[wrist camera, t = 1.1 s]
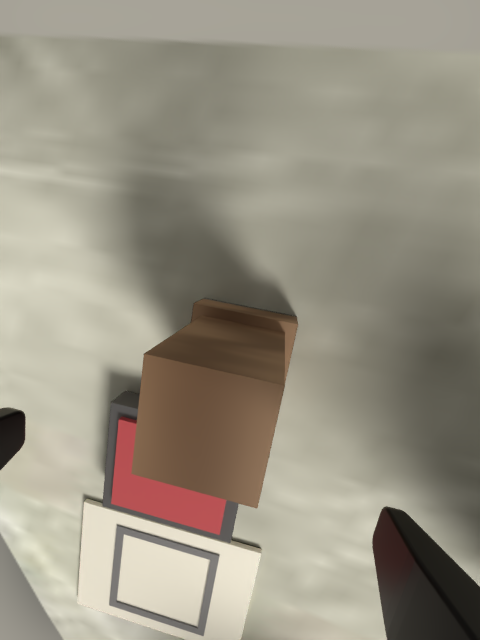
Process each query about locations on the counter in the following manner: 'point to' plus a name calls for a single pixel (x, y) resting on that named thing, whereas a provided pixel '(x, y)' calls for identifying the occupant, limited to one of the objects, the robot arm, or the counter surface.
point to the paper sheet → (164, 575)
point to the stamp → (214, 401)
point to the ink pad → (156, 484)
